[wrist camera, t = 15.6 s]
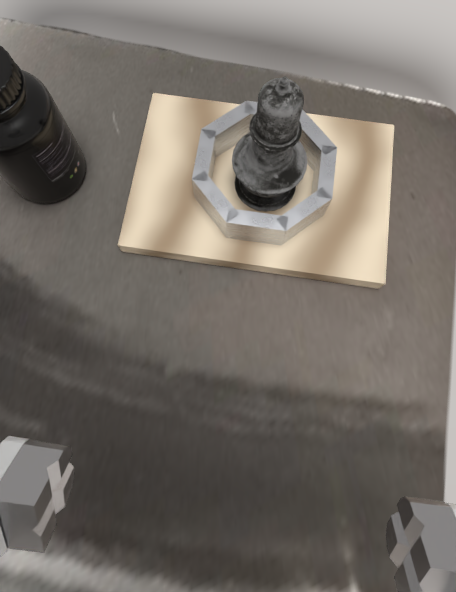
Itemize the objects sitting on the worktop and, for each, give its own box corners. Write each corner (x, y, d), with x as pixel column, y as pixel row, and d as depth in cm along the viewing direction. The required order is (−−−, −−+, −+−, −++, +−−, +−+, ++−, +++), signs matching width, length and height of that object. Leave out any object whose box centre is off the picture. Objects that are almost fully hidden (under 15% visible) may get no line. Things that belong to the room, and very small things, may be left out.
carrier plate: (122, 251, 36) (117, 245, 34) (155, 104, 39) (153, 92, 38) (378, 288, 35) (385, 283, 34) (387, 135, 39) (394, 125, 37)
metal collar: (187, 232, 34) (184, 216, 32) (208, 119, 37) (207, 95, 34) (319, 251, 34) (328, 237, 31) (331, 135, 37) (340, 113, 34)
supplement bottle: (-2, 192, 37) (-106, 95, 25) (32, 130, 39) (-50, 12, 27) (69, 216, 36) (-4, 129, 25) (100, 152, 38) (46, 41, 26)
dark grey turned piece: (241, 146, 37) (249, 26, 25) (306, 163, 36) (345, 49, 25) (222, 204, 35) (222, 106, 24) (290, 222, 35) (323, 131, 23)
